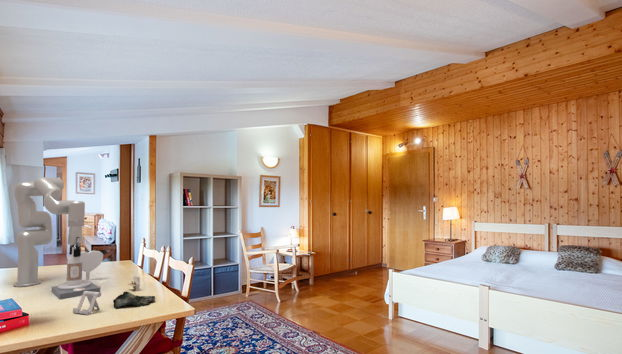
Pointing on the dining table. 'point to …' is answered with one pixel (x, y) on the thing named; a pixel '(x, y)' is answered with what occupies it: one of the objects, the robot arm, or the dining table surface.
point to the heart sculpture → (91, 262)
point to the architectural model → (135, 283)
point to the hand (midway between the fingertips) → (74, 255)
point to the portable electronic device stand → (92, 301)
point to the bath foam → (74, 270)
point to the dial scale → (74, 289)
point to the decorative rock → (132, 300)
